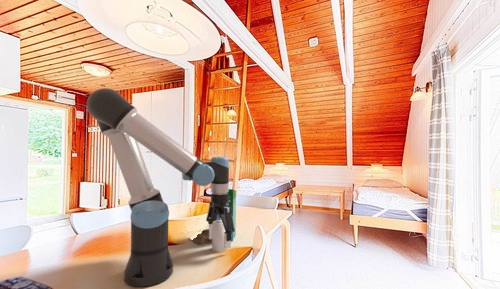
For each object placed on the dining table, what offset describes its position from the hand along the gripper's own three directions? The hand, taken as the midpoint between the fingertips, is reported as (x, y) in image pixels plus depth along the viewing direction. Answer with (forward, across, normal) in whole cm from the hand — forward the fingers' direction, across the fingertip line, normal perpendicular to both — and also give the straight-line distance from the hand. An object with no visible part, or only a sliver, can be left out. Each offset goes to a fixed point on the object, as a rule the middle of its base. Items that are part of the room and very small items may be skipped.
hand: (219, 243), depth 104 cm
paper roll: (+3, 0, 0) cm, 3 cm away
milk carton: (+4, +11, -10) cm, 15 cm away
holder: (+3, +15, -2) cm, 15 cm away
